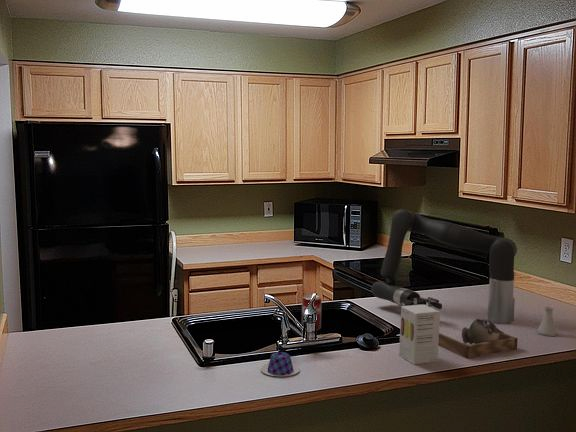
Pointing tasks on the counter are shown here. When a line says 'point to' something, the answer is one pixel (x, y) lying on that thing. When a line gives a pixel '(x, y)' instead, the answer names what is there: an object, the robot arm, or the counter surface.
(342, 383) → the counter surface
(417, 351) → the supplement box
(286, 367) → the pudding
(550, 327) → the flask
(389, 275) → the robot arm
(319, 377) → the counter surface
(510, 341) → the frame
